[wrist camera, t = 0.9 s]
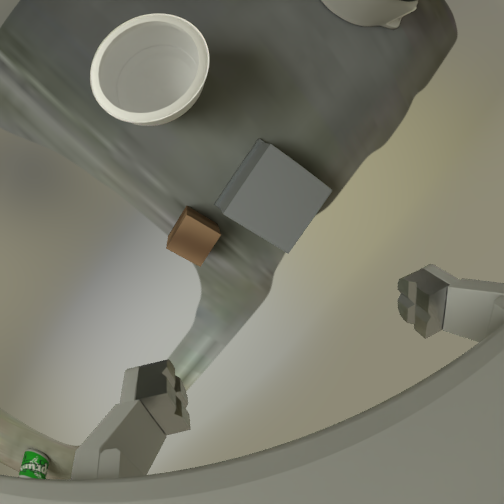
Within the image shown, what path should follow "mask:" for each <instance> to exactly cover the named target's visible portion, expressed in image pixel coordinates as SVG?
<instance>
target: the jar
mask: <svg viewBox="0 0 504 504" xmlns="http://www.w3.org/2000/svg"><path fill="white" fill-rule="evenodd" d="M208 69H209V51H208V47H207V44H206V41H205V39H204V37H203V36H202V34H201V33H200V31H199V30H198V29H197V28H196V27H195V26H194V25H192V24H191V23H190V22H188V21H186V20H185V19H182V18H180V17H177V16H174V15H170V14H147V15H143V16H139V17H136V18H133V19H131V20H129V21H127V22H125V23H123V24H121V25H120V26H118V27H117V28H116V29H114V30H113V31H112V32H111V33H110V34H109V35H108V36H107V37H106V38H105V39H104V40H103V42H102V43H101V45H100V46H99V48H98V49H97V51H96V53H95V56H94V58H93V61H92V65H91V71H90V82H91V88H92V91H93V94H94V96H95V98H96V100H97V102H98V103H99V104H100V106H101V107H102V108H103V109H104V110H105V111H106V112H107V113H109V114H110V115H112V116H113V117H115V118H117V119H120V120H122V121H125V122H130V123H133V124H137V125H143V126H155V125H161V124H165V123H168V122H170V121H173V120H175V119H177V118H178V117H180V116H182V115H183V114H184V113H186V112H187V111H188V110H189V109H190V108H191V107H192V106H193V105H194V103H195V102H196V101H197V99H198V97H199V96H200V94H201V92H202V89H203V86H204V83H205V79H206V76H207V73H208Z"/></svg>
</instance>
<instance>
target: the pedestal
mask: <svg viewBox="0 0 504 504" xmlns="http://www.w3.org/2000/svg"><path fill="white" fill-rule="evenodd" d="M331 192H332V189H330V188H329V187H328V186H326V185H325V184H324V183H323V182H321V181H320V180H319V179H318V178H316V177H315V176H314V175H312V174H311V173H310V172H308V171H307V170H306V169H304V168H303V167H302V166H300V165H299V164H298V163H296V162H295V161H294V160H292V159H291V158H290V157H288V156H287V155H286V154H284V153H283V152H281V151H280V150H279V149H277V148H276V147H274V146H273V145H272V144H268V143H265V142H264V141H262V140H261V139H258V140H257V141H256V143H255V144H254V146H253V147H252V149H251V150H250V151H249V153H248V154H247V156H246V157H245V159H244V160H243V162H242V163H241V165H240V166H239V168H238V169H237V170H236V172H235V173H234V175H233V176H232V178H231V179H230V181H229V182H228V184H227V185H226V187H225V188H224V190H223V191H222V193H221V194H220V196H219V198H218V199H217V201H216V202H215V204H214V205H215V206H217V207H218V208H220V209H221V211H222V213H223V214H224V215H225V216H227V217H229V218H230V219H232V220H234V221H235V222H237V223H239V224H240V225H242V226H243V227H245V228H247V229H248V230H250V231H252V232H253V233H255V234H257V235H258V236H260V237H262V238H263V239H265V240H266V241H268V242H270V243H271V244H273V245H275V246H276V247H278V248H280V249H281V250H283V251H284V252H286V253H289V252H290V250H291V249H292V248H293V246H294V245H295V243H296V242H297V241H298V239H299V238H300V236H301V235H302V234H303V232H304V231H305V229H306V228H307V226H308V225H309V224H310V222H311V221H312V219H313V218H314V216H315V215H316V214H317V212H318V211H319V209H320V208H321V206H322V205H323V203H324V202H325V201H326V199H327V198H328V196H329V195H330V193H331Z"/></svg>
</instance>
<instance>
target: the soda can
mask: <svg viewBox="0 0 504 504" xmlns="http://www.w3.org/2000/svg"><path fill="white" fill-rule="evenodd" d="M48 465H49V460H48V458H47V456H46V455H45V454H44V453H43V452H41V451H39V450H37V449H34V448H30V449H27V450H26V451H25V454H24V458H23V461H22V465H21V469H20V473H19V477H24V478H36V479H46V475H47V470H48Z"/></svg>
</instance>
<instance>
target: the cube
mask: <svg viewBox="0 0 504 504" xmlns="http://www.w3.org/2000/svg"><path fill="white" fill-rule="evenodd" d="M220 236H221V233H220V230H219V227H218V224H217V223H215V222H214V221H212V220H210V219H208V218H207V217H205V216H203V215H202V214H200V213H198V212H197V211H195V210H193V209H192V208H190V207H188V206H186V208H185V209H184V211H183V212H182V214H181V216H180V217H179V219H178V221H177V222H176V224H175V226H174V227H173V229H172V231H171V232H170V234H169V236H168V241H167V247H166V248H167V249H169V250H170V251H172V252H174V253H176V254H178V255H179V256H181V257H183V258H185V259H187V260H189V261H190V262H192V263H194V264H196V265H198V266H201V265H202V263H203V262H204V260H205V259H206V257H207V256H208V254H209V253H210V251H211V249H212V248H213V246H214V245H215V243H216V242H217V240H218V239H219V237H220Z"/></svg>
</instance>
